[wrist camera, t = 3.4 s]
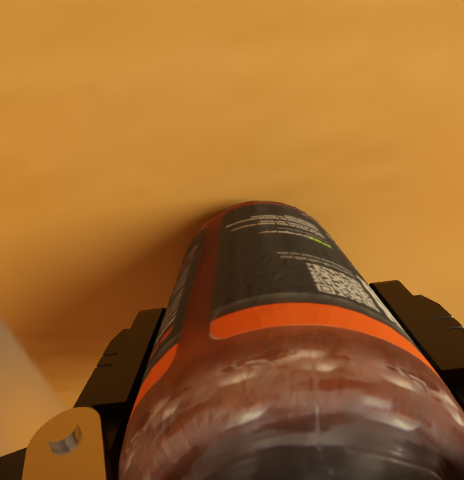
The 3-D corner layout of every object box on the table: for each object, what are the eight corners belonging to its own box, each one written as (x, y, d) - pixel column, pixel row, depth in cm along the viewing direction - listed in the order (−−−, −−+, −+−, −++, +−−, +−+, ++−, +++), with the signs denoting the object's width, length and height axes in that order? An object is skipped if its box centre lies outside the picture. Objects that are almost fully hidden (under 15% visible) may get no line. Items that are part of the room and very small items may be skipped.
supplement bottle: (201, 340, 15) (107, 922, 4) (170, 209, 13) (-179, 697, 2) (340, 321, 14) (636, 924, 4) (330, 183, 12) (933, 635, 2)
